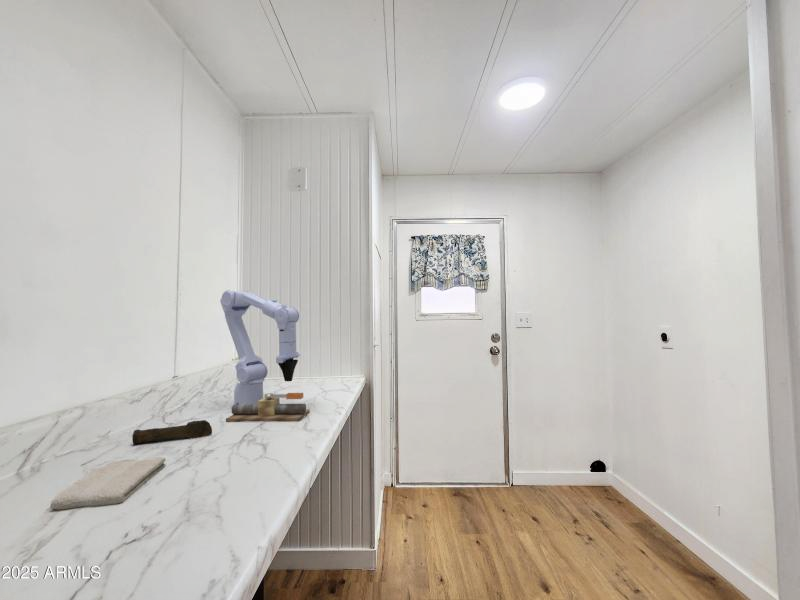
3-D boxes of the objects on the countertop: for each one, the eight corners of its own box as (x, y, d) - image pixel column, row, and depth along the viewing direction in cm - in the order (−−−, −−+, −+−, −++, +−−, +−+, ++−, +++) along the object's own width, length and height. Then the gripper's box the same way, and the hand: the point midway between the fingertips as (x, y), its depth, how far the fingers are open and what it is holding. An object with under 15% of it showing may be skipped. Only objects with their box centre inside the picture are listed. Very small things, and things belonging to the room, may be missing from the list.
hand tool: (130, 447, 96) (130, 429, 97) (137, 442, 100) (137, 425, 100) (209, 439, 101) (209, 422, 101) (212, 434, 105) (212, 418, 105)
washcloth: (168, 466, 84) (168, 452, 84) (123, 507, 66) (123, 489, 67) (110, 471, 82) (110, 457, 82) (48, 515, 64) (48, 497, 65)
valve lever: (263, 399, 119) (263, 394, 119) (267, 397, 122) (266, 392, 122) (300, 399, 118) (300, 394, 118) (303, 397, 120) (303, 392, 120)
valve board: (225, 421, 116) (225, 402, 116) (241, 413, 126) (241, 395, 126) (299, 421, 114) (298, 401, 115) (309, 412, 124) (309, 394, 125)
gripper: (290, 343, 120) (290, 385, 120) (306, 340, 134) (307, 377, 134) (269, 344, 121) (270, 385, 120) (287, 340, 135) (288, 377, 135)
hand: (288, 381), depth 127 cm, fingers closed
